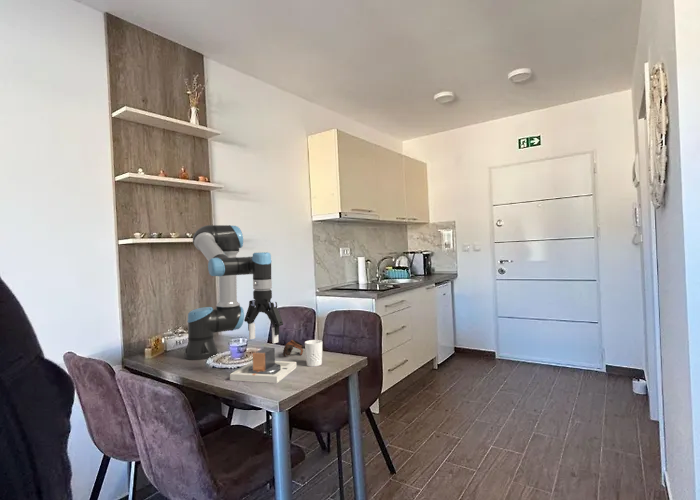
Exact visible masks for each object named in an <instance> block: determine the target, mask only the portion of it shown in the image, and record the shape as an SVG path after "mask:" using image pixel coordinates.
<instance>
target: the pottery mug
mask: <svg viewBox="0 0 700 500" xmlns="http://www.w3.org/2000/svg"><path fill="white" fill-rule="evenodd" d="M294 348H296V349H298V350H300V353H299V354H300V356H302V355H303V353H304V348H305V345H303V344H302V343H301V342H299V341H297V340H295V339H291V340H290V341H288V342H287V343H286V344H285V345H284V347H283V350H282V356H284V357H286V356H291V353H292V351H293V349H294Z"/></svg>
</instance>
